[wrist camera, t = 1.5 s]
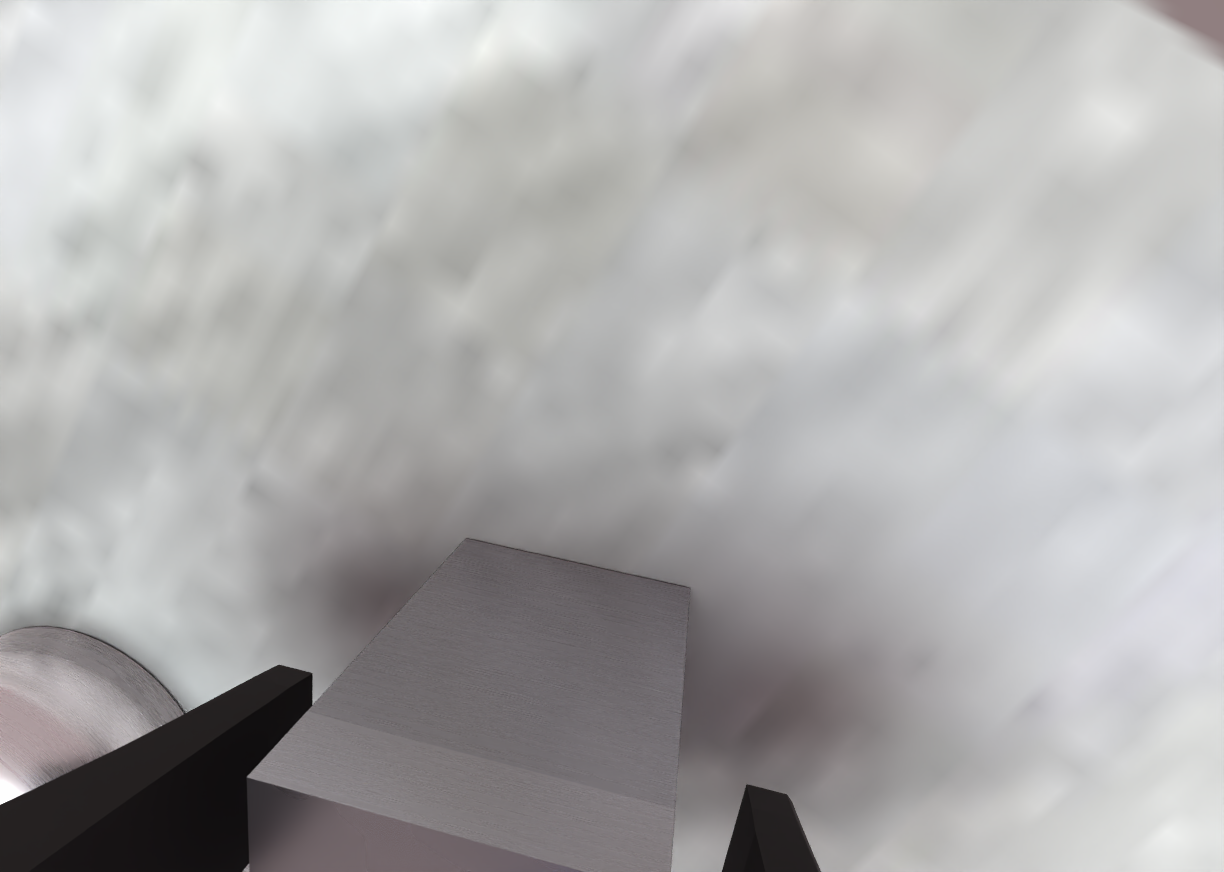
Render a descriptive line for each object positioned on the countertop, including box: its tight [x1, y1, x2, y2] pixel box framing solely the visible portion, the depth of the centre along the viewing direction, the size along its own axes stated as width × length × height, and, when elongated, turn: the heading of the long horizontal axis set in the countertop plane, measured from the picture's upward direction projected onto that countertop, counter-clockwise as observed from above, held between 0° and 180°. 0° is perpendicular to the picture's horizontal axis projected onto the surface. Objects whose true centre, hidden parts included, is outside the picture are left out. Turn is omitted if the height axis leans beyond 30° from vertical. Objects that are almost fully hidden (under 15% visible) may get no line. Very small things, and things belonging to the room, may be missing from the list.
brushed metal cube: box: [247, 538, 690, 872], centre depth 10 cm, size 5×5×6 cm
